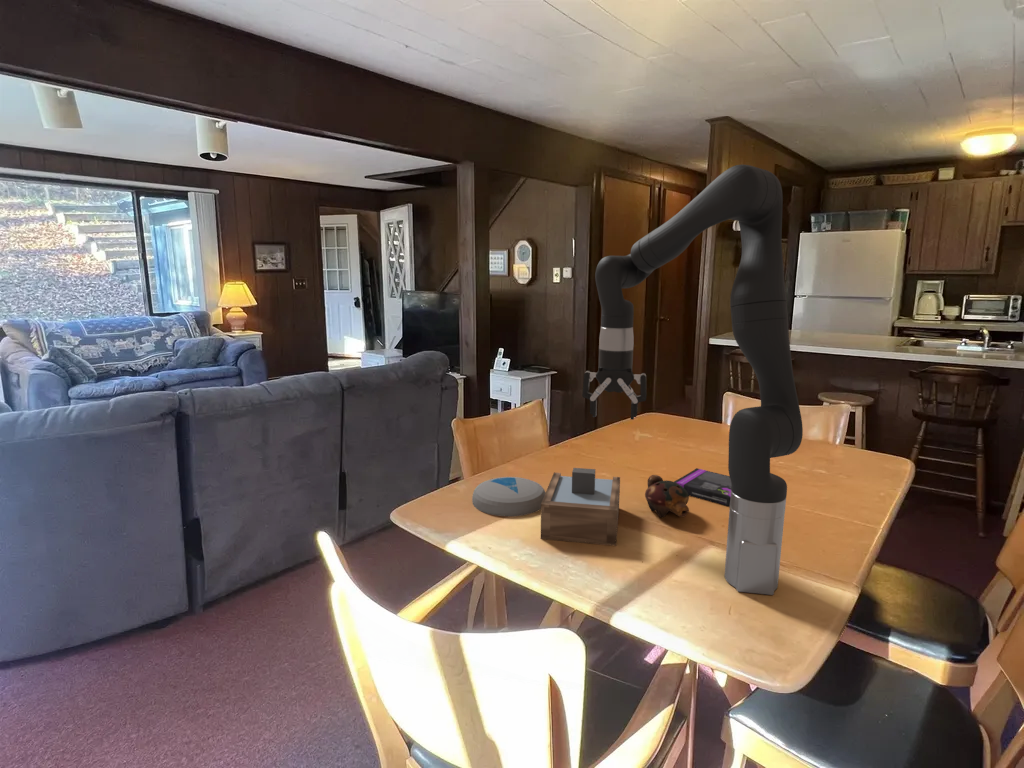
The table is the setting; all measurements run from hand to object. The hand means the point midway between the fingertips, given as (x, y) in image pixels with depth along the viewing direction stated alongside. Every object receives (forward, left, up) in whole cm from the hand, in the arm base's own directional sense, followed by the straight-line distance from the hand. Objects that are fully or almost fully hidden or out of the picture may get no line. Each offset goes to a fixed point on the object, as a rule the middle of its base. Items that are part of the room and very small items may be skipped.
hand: (613, 417), depth 134 cm
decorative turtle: (+3, -13, -24) cm, 27 cm away
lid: (-5, +6, -18) cm, 19 cm away
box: (+19, -27, -24) cm, 41 cm away
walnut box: (-6, +6, -24) cm, 25 cm away
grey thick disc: (+3, +25, -24) cm, 35 cm away
